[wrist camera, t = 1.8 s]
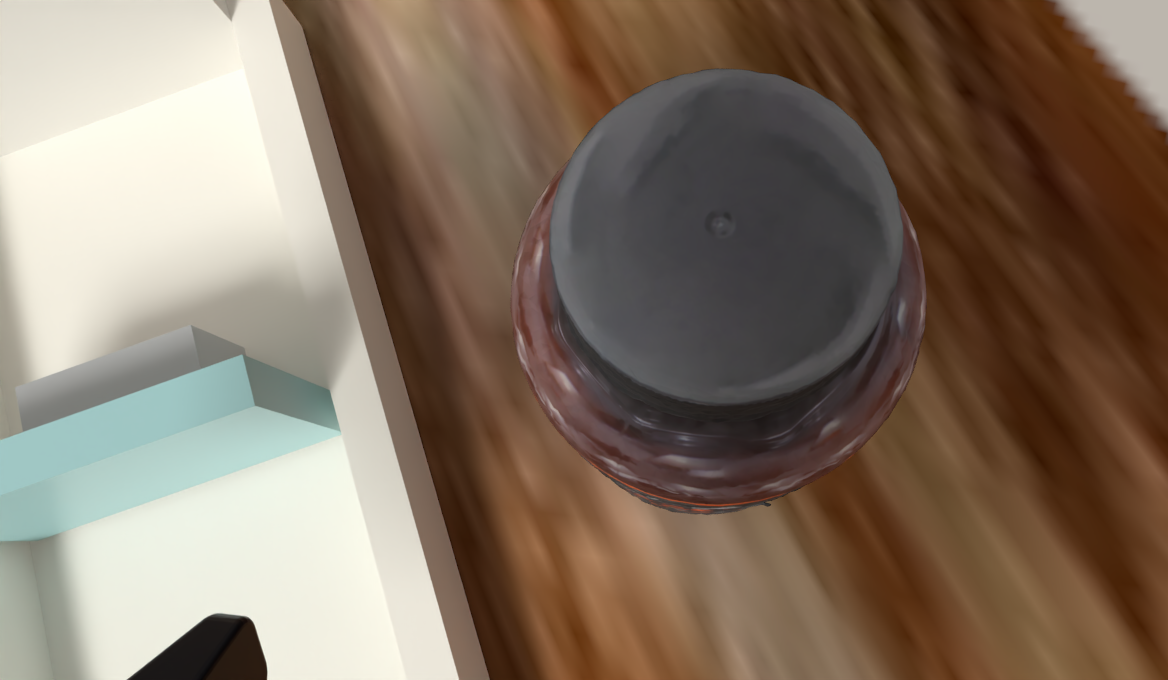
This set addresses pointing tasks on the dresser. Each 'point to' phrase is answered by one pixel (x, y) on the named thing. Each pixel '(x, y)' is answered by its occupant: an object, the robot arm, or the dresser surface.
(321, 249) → the lane
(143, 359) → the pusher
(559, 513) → the dresser surface
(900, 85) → the dresser surface
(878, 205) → the supplement bottle
